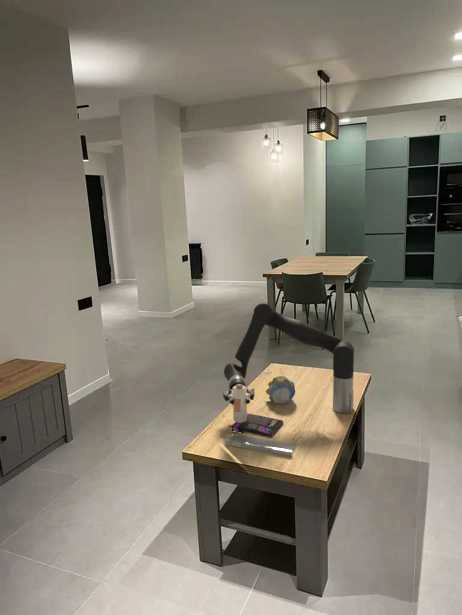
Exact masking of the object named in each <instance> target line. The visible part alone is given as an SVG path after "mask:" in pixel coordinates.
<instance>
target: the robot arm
mask: <svg viewBox="0 0 462 615" xmlns="http://www.w3.org/2000/svg"><path fill="white" fill-rule="evenodd" d="M251 317H252V318H251V321H250V323H249V325H248V328H247V330H246V333H245V334H244V336H243V339H242V340H241V342H240V345H239V347H238V348H237V350H236V353H235V355H234V357H235V359H236V360H237V361H239V363H240V365H241V366H240V365H237V364H236V363H234V362H233V363H232V362H230V363H227V364H226V365H225V366H224V369H223V375H224V378H225V379H226V380H227V381H228V391H227V390H225V389H223V390H222V397H223V399H224V401H225V402H228V401H229V404H230V405H232V406H233V387H234V386H236V385H237V384H242V385H243V386H245V387H246V402H247V405H249V404H251V401H253V400H254V399H255V388H252V389H249V390H248V388H247V384H246V380H245V379H246V377H247V373H248V372H247V370H248V366H249V363H250V362H249V361H250V359H251V357H252V355H253V353H254V351H255V348H256V346H257V343H258V340H259V338H260V335H261V333H262V331H263V329H264V327H265V326H268V327H271V328H274V329H276V330H278V331H279V332H281V333H283V334H285V335H286V336H288V337H290V338H292V339H294V340H295V341H298V342H300V343H302V344H304V345H307V346H311V347H317V348H321V349H324V350H326V351H328V352H329V353H331V354H333V356H332V357H333V358H332V362H333V363H332V370H333V372H332V373H333V376H332V378H333V379H332V387H333V388H332V410H333V411H334V412H336V413H339V414H352V412H353V409H354V395H355V394H354V391H355V389H354V372H355V371H354V365H355V362H354V361H355V347H354V346H353V344H352V343H351V342H349V341H347V340H345V339H342V338H338V337H335V336H333V335H331V334H328V333H327V332H325V331H322V330H320V329H319V328H317V327H315V326H312V325H311V324H308V323H306V322H304V321H303V320H299V319H297V318H292V317H289V316H285V315H284V314H281V313H279V312H277V311H276V310H274V309H273V308H272V306H271V305H270V304H268V303H266V302H261V303H258V304H257V305H256V306H255V307H254V308H253V314H252V316H251Z"/></svg>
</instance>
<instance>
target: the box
mask: <svg viewBox="0 0 462 615" xmlns="http://www.w3.org/2000/svg"><path fill="white" fill-rule="evenodd" d="M282 425H284V420H283V419H277V418H272V417H269V416H268V417H267V416H263V415H258V414H252V413H248V412H247V420H246V421H245V422H241V423H239V422H235V421H234V423H233V424H232V425H231V426H230V429H231V432H233V431H235V432H234V433H238V432H241V433H240V434H244V433H250V434H253V435H259V436H263V437H268V438H273V437H274V436H275V435H276V433H277V432H278V430H280V429H281V427H282Z"/></svg>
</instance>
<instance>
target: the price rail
mask: <svg viewBox="0 0 462 615" xmlns="http://www.w3.org/2000/svg"><path fill="white" fill-rule="evenodd" d="M224 445H225V446H227V445H229V446H228V447H232V446H235V447H234V448H238V447H240V448H239V449H244V448H246V450H249V449H251V450H250V451H255V450H257V451H256V452H260V451H263V452H262V453H266V452H268V453H267V454H272V453H274V455H277V454H279V455H278V456H283V455H285V457H288V456H293V455H292V450H287V449H281V448H275V447H269V446H263V445H258V444H252V443H246V442H240V441H235V440H230V439H228V438H225V441H224Z"/></svg>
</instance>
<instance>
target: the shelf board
mask: <svg viewBox="0 0 462 615" xmlns="http://www.w3.org/2000/svg"><path fill="white" fill-rule="evenodd" d="M229 438H230V439H229V440H235V441H240V442H246V443H252V444H258V445H263V446H269V447H275V448H281V449H287V450H292V456H293V454H294V452H295V450H296V449H297V446H298V444H297V443H291V442H284V441H278V440H273V439H267V438H261V437H255V436H249V435H242V434H238V433H233V434H232V435H231V437H229ZM226 446H227V447H230V446H229V445H226ZM231 447H234V448H236V447H235V446H231ZM237 448H239V449H241V448H240V447H237ZM243 449H246V448H243ZM246 450H247V449H246ZM248 450H250V451H252V450H251V449H248ZM254 451H255V452H258V451H257V450H254ZM259 452H261V453H264V452H263V451H259ZM265 453H266V454H269V453H268V452H265ZM271 454H274V453H271ZM274 455H275V454H274ZM276 455H278V456H280V455H279V454H276ZM282 456H285V455H282ZM292 456H287V457H289V458H292ZM285 457H286V456H285Z"/></svg>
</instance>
